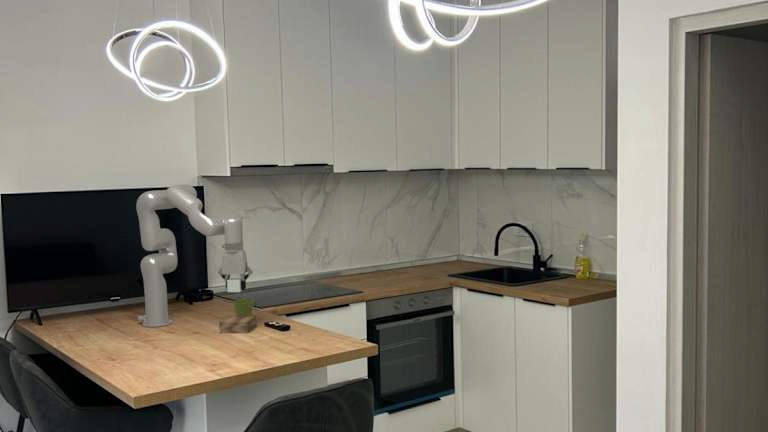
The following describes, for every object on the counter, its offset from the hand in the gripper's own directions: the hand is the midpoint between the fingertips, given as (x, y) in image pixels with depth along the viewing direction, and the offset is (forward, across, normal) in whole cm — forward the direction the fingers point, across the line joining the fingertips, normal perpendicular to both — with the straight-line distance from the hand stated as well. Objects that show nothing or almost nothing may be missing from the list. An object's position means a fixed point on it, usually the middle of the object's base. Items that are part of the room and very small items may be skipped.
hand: (236, 289), depth 309 cm
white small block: (+1, 0, 0) cm, 1 cm away
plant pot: (+18, -4, +20) cm, 27 cm away
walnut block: (+18, 0, 0) cm, 18 cm away
